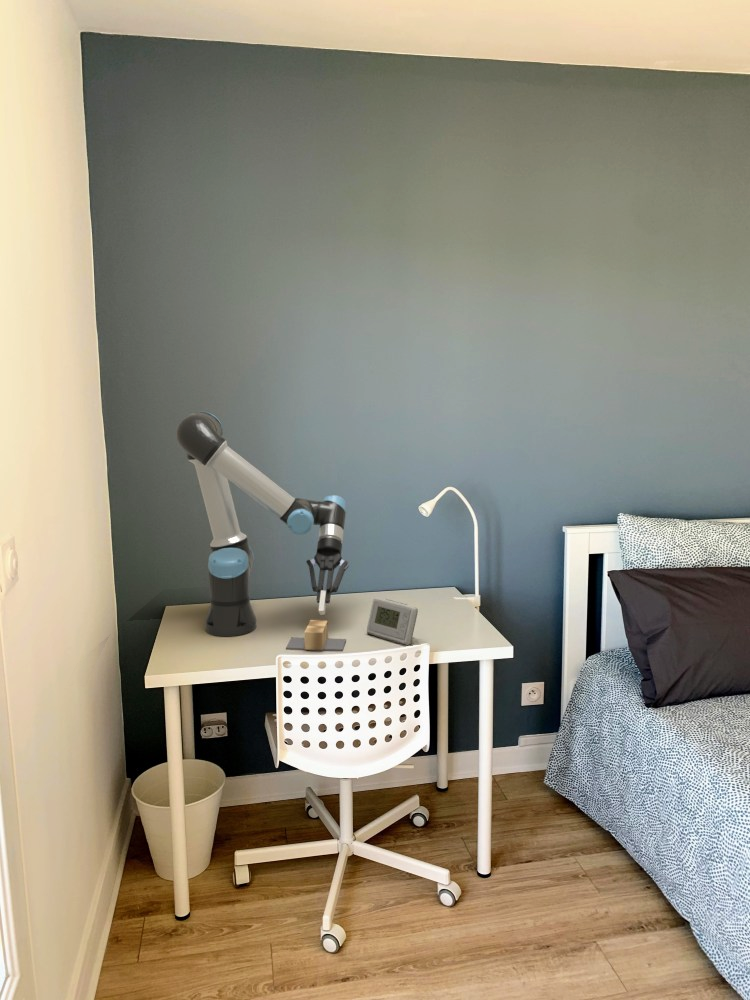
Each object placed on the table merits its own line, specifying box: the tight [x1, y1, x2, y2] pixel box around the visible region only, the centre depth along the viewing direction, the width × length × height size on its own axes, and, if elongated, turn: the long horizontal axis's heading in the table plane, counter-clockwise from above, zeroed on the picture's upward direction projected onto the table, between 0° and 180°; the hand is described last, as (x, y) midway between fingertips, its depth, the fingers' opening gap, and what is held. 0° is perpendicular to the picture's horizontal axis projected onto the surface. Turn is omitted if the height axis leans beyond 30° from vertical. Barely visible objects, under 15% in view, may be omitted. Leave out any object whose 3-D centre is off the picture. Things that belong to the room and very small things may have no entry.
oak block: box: [304, 619, 329, 651], centre depth 219 cm, size 5×5×10 cm
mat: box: [285, 637, 347, 652], centre depth 220 cm, size 16×8×1 cm, turn 85°
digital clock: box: [366, 596, 419, 646], centre depth 224 cm, size 16×9×11 cm, turn 39°
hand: (321, 612), depth 225 cm, fingers closed
